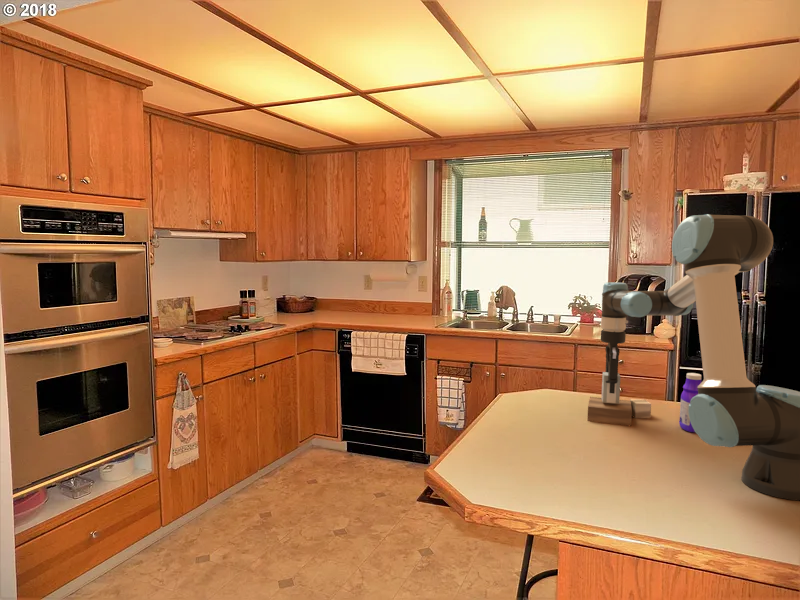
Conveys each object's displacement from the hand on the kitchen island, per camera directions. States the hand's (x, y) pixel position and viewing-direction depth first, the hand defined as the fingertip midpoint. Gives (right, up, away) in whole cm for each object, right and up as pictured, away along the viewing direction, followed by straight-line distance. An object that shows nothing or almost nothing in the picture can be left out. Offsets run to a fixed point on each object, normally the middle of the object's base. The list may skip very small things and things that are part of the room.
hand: (610, 400), depth 182 cm
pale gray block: (0, 0, 0) cm, 0 cm away
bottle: (+21, -7, -11) cm, 25 cm away
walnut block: (0, -6, +1) cm, 6 cm away
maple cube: (+11, -6, +3) cm, 13 cm away
